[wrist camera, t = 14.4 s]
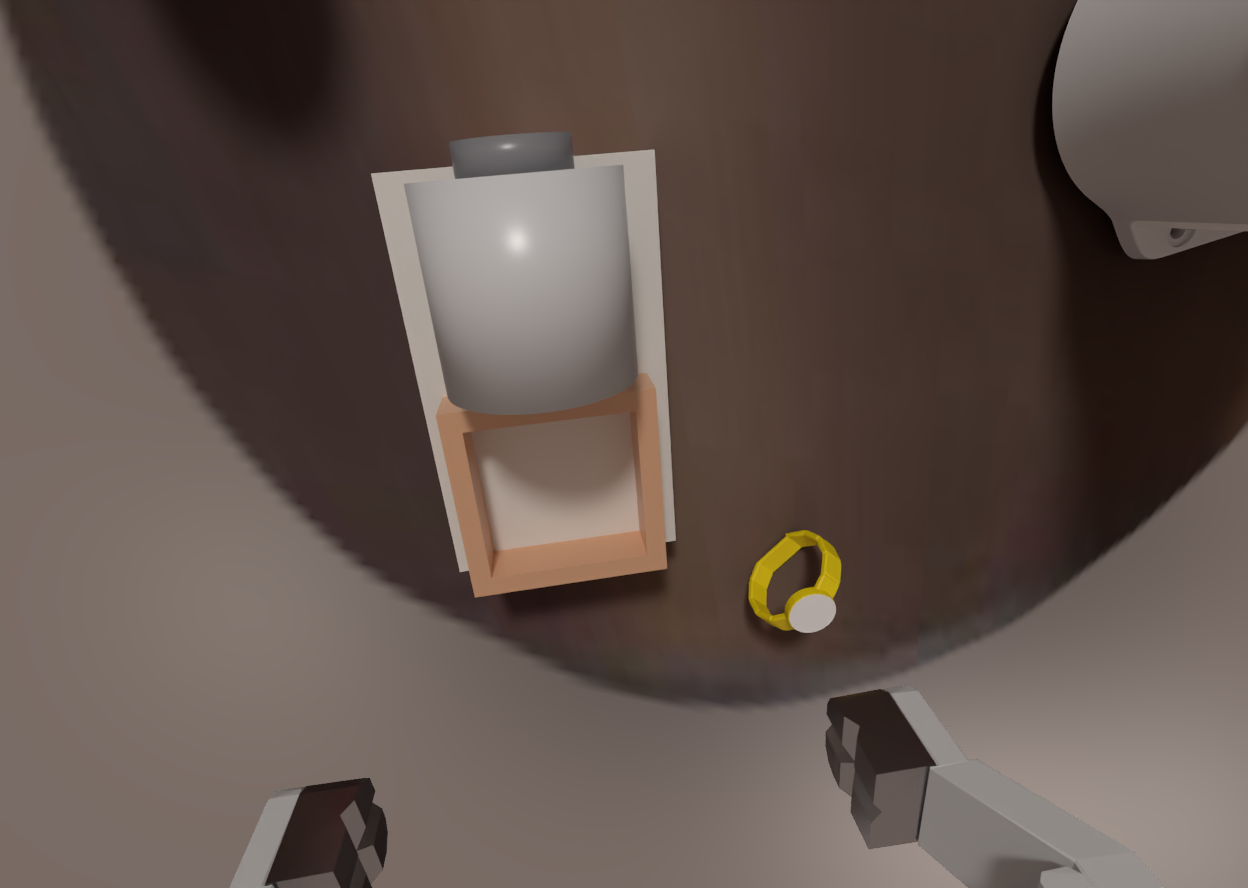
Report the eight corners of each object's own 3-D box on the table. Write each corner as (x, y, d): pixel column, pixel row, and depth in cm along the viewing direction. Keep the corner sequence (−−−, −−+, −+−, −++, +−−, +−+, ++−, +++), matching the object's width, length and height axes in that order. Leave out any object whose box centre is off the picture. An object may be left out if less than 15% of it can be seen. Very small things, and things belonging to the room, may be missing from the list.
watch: (795, 509, 39) (837, 562, 34) (823, 531, 40) (869, 587, 35) (730, 575, 41) (760, 636, 35) (759, 595, 42) (793, 658, 36)
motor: (641, 135, 30) (699, 116, 20) (665, 514, 38) (713, 635, 28) (382, 157, 29) (302, 147, 19) (465, 542, 37) (441, 679, 27)
